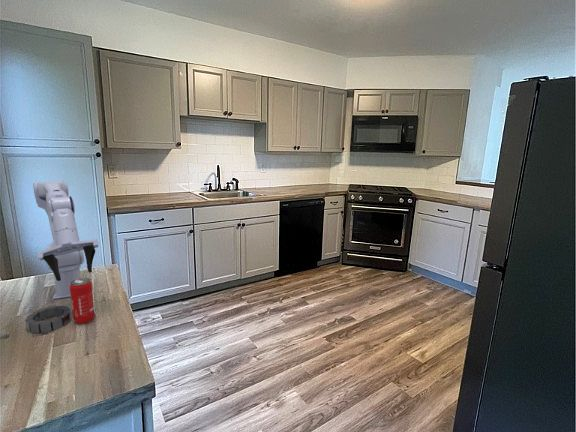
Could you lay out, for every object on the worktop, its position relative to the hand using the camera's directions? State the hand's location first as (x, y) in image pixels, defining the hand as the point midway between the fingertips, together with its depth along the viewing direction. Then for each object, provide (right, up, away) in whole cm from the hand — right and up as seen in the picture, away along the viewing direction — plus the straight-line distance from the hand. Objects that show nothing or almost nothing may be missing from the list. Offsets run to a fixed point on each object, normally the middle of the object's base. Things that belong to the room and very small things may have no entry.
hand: (74, 275), depth 90 cm
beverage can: (+2, -13, +1) cm, 14 cm away
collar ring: (-7, -13, -1) cm, 15 cm away
